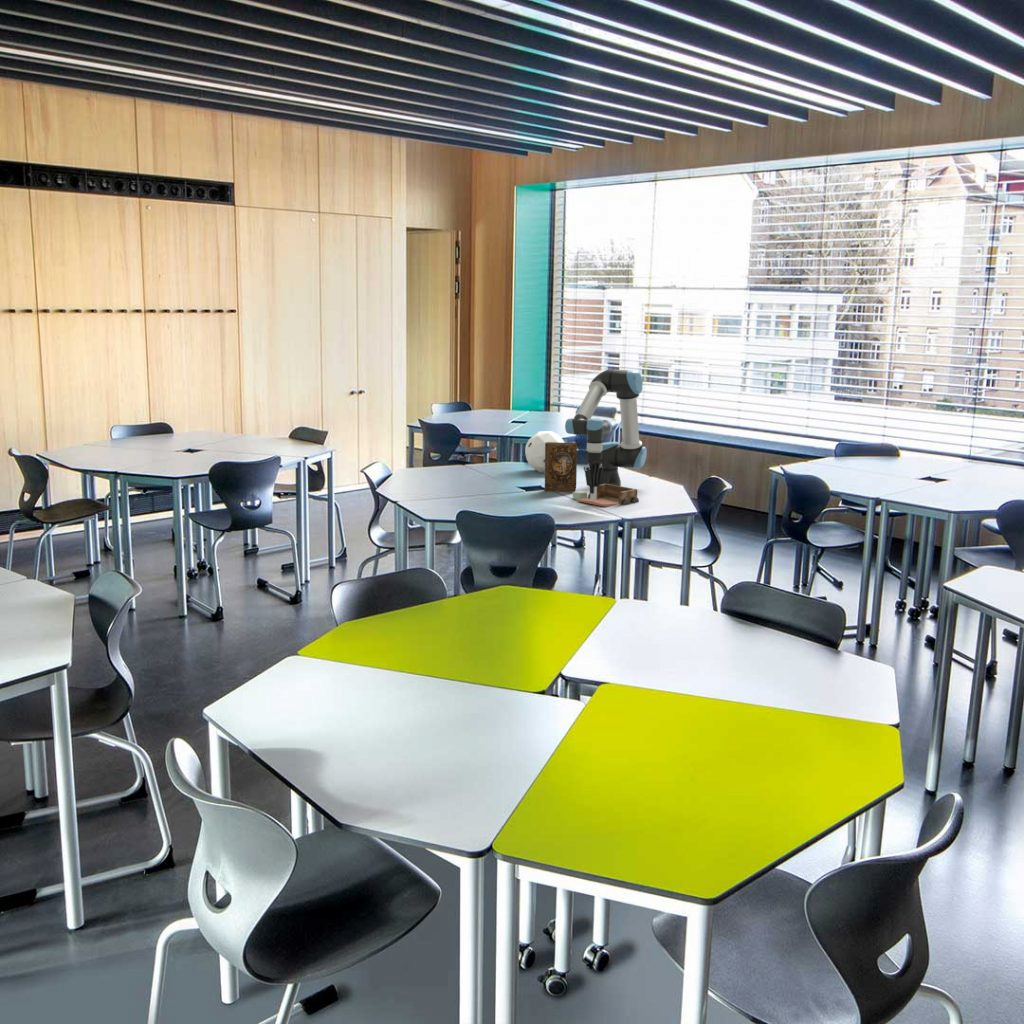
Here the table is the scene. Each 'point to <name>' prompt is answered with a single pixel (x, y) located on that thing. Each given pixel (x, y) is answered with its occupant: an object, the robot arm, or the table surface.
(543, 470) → the geometric sculpture
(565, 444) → the book
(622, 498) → the wooden toy wagon
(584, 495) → the block
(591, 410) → the robot arm
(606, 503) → the tailgate
